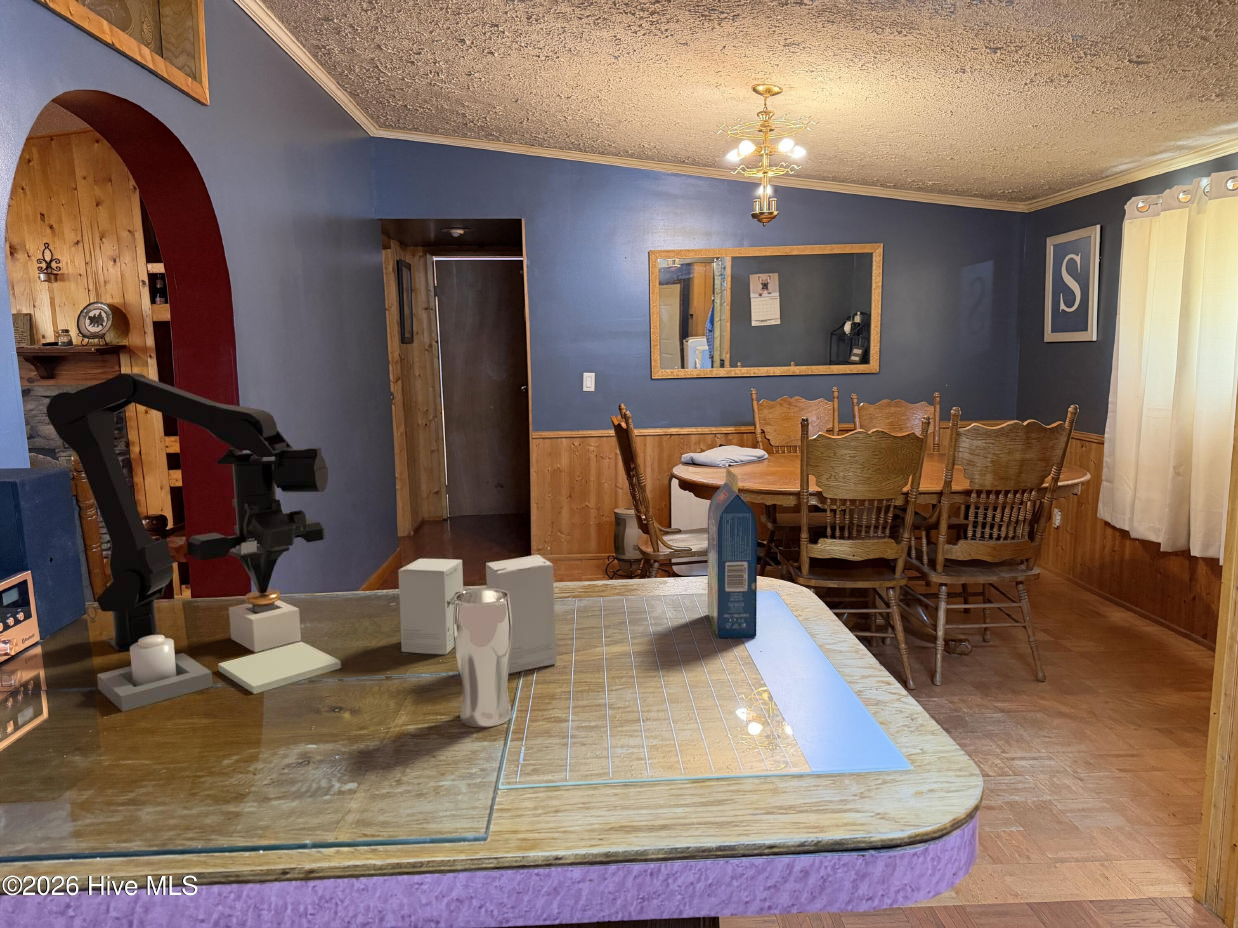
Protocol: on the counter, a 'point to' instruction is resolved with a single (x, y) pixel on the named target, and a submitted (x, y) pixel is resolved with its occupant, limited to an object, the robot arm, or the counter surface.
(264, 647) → the plunger housing
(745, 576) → the blue food package
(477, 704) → the beer glass
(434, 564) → the supplement box
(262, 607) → the plunger
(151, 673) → the cylinder
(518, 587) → the skincare box
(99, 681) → the socket
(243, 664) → the dock pad
